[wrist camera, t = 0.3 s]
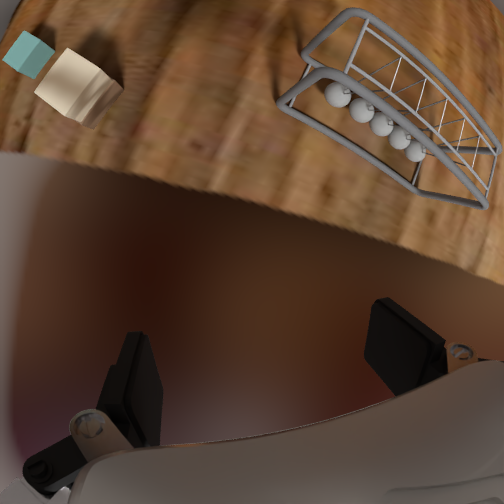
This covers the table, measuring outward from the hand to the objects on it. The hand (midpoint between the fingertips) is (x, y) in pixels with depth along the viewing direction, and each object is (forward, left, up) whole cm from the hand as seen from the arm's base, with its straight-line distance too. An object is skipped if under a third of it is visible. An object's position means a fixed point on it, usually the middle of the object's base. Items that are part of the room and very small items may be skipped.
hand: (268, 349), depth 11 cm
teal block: (-29, -30, -31) cm, 52 cm away
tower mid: (-19, -18, -26) cm, 37 cm away
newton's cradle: (-15, +24, -31) cm, 42 cm away
